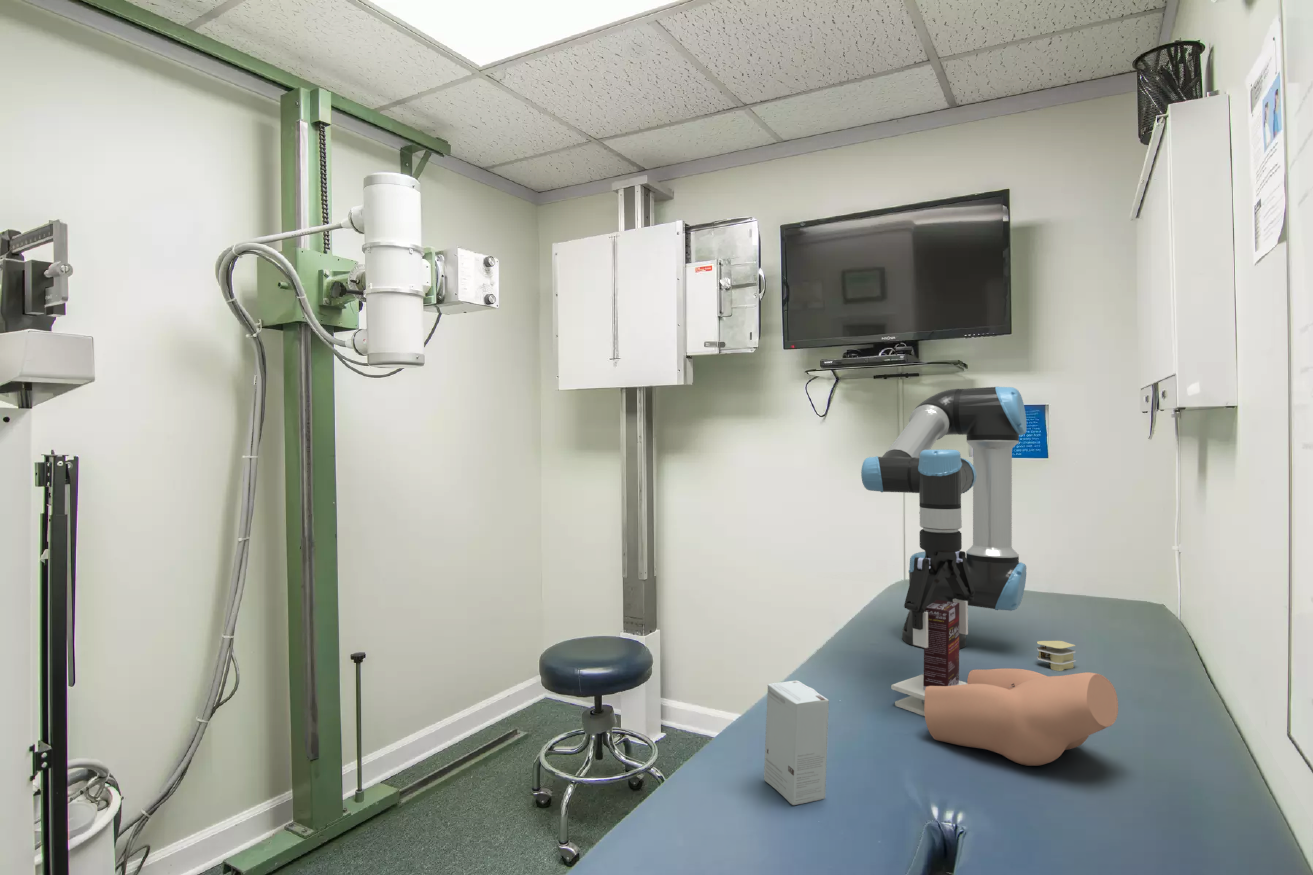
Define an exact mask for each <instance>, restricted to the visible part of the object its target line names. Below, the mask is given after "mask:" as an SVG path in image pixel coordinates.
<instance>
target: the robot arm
mask: <svg viewBox="0 0 1313 875" xmlns="http://www.w3.org/2000/svg"><path fill="white" fill-rule="evenodd" d="M1020 392H1021V391H1019V390H1018V389H1017V388H1015V387H1012V386H990V387H989V386H988V387H973V388H972V387H971V388H950V389H946V390H943V391H941V392H938V393H935V394H933V395H931V396H930V397H928V398H926V399H925V400H923V401H922V402H920V403H919V404H918V405H917V406H916V407H915V408H914V409H913V410H912V412H911V413H910V414H909V415H910V416H909V418H908V424H907V425H906V426H905V427H904V429H903V430H902V431H901V433H900V434H898V436H897V438H896V439H895V440H894V441H893V443H892V444H890V446H889V447H888V449H887V450H886V452H884V454H883V455H882V456H877V455H875V456H872V457H871V456H869V457H866V458H865V459H864V460H863V462H862V465H861V469H860V470H861V471H860V473H861V475H860V476H861V481H862V486H863V488H865V489H866V490H868V491H870V492H871V491H873V492H880V493H904V494H905V493H909V494H910V493H911V494H918V496H919V499H918V500H919V526H920V527H921V528H922V529H920V530H919V548H920V549H921V550H922V551H919V552H916V553H914V554H912V555H911V556H910V558H909V566H908V568H909V569H908V578H909V579H908V580H909V581H908V583H909V584H908V590H907V593H906V597H905V599H904V600H905V601H904V604H903V607H904V609H906V610H908V612H907V616H906V619H905V621H904V625H903V627H902V630H901V632H902V636H901V637H902V640H903V641H904V642H905V643H906V644H908V645H911V646H914V647H917V648H923V649H924V648H927V647H928V612H925V609H926V607H927V606H928V605H930V604H932V603H933V602H935V601H936V600H942V601H950V602H956V603H959V650H961V649H964V648H965V647H966V646H967V635H969V609H968V608H969V607H975V608H976V607H977V608H983V609H985V608H986V609H991V610H995V611H1010V612H1011V611H1015V610H1017V609H1018V608H1019V607H1020V605H1021V602H1022V600H1023V596H1024V592H1025V588H1026V580H1027V565H1026V564H1025V563H1023V562H1022V561H1020V560H1019V559H1020V557H1019V556H1020V554H1019V553H1017V552H1016V550H1014V549H1013V546H1012V545H1013V542H1012V541H1013V540H1012V539H1013V533H1012V532H1013V530H1012V528H1013V527H1012V523H1013V522H1012V520H1013V516H1012V515H1013V514H1012V513H1013V511H1012V510H1013V508H1012V505H1013V504H1012V503H1013V493H1012V492H1013V482H1012V481H1013V478H1012V476H1013V474H1012V473H1013V469H1012V468H1013V456H1012V454H1013V453H1012V452H1013V448H1014V447H1015V446H1016V445H1018V444H1019V443H1020V436H1022V435H1025V434H1026V433H1027V415H1026V408H1025V405H1024V404H1025V403H1024V400H1023V397H1022V394H1021V393H1020ZM948 435H949V436H950V435H951V436H953V435H955V436H956V435H958V436H959V435H962V436H963V435H964V436H966V443H967V444H968V445H969V446H970V447H971V448H972V458H973V459H972V463H971V461H969V460H967V459H966V458H964V457H963V458H962V457H961V452H960V451H959V450H957V449H944V448H943V449H942V448H941V449H932V448H933V446H934V444H935V443H936V441H938V440H940V439H942V438H944V437H945V436H948ZM971 488H972V545H971V547H969V548H968V549H967V550H966V552H965V551H962V547H963V546H962V543H963V542H962V540H963V539H962V532H961V531H960V529H961V528H962V527H963V526H962V525H963V524H962V494H965V493H967V492H968V491H969V490H970V489H971Z"/></svg>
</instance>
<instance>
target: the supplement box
mask: <svg viewBox="0 0 1313 875" xmlns="http://www.w3.org/2000/svg"><path fill="white" fill-rule="evenodd" d="M925 612H928V647H927V648H923V674H924V681H923V690H925V689H926V687H927V686H953V685H957V684H959V681H960V649H959V603H956V602H950V601H942V600H936V601H935V602H933V603H932V604H930V605H928V606H927V607H926V609H925Z"/></svg>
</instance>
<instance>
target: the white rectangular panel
mask: <svg viewBox="0 0 1313 875" xmlns="http://www.w3.org/2000/svg"><path fill="white" fill-rule="evenodd" d="M923 681H924V673H923V674H918V675H917V676H913V677H910V678H907V679H905V680H902V681H898V682H896V683H893V684H891V685H890V688H891V690H893V691H896V692H899V693H901V694H905V695H908V696H907V697H903V698H901V699H898V700H896V701H894V706H895V707H898V708H901V709H904V710H906V711H909V712H912V713H914V714H917V715H920V716H923V717H925V712H924V705H925V690H923ZM964 684H967V682H966V681H962V680H959V684H957V685H964Z"/></svg>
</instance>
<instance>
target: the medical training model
mask: <svg viewBox="0 0 1313 875" xmlns="http://www.w3.org/2000/svg"><path fill="white" fill-rule="evenodd" d="M966 681H967V682H966V683H967V684H964V685H953V686H927V687H926V689H925V705H924V712H925V716H924V719H925V723H926V728H927V729H928V732H929V734H930V735H931V737H932V738H933V739H934V740H936V741H938V742H943V743H948V744H951V745H956V746H962V747H967V748H975V749H983V750H988V751H990V752H993V753H997V754H998V755H1002V756H1003V757H1005V758H1007V759H1008V760H1010V761H1012V762H1014V763H1017V764H1020V765H1022V766H1028V767H1030V766H1031V767H1032V766H1033V767H1036V766H1037V767H1038V766H1044V765H1046V764H1050V763H1053V762H1055V761H1056V760H1057V759H1059V757H1061V756H1062V754H1063V753H1064V752H1065V751H1067V750H1072V749H1076V748H1078V747H1080V746H1081V745H1083V744H1084V743H1085V742H1086V741H1087V740H1088V738H1089V737H1090V736H1091V735H1094V734H1096V733H1098V732H1100V731H1103V730H1105V729H1107V728H1108V727H1112V726H1113V725H1114V724H1115V722H1116V721H1117V718H1118V715H1119V700H1118V695H1117V691H1116V688H1115V687H1114V685H1113V683H1112V682H1111V681H1110V680H1109V679H1108V678H1106V676H1104V675H1102V674H1101V673H1095V672H1090V671H1089V672H1087V671H1086V672H1080V673H1079V672H1078V673H1073V674H1066V675H1065V674H1064V675H1051V676H1048V675H1046V674H1043V673H1040V672H1037V671H1033V670H1029V669H1022V668H993V669H991V668H990V669H972V670H970V671H969V673H968V676H967V680H966Z"/></svg>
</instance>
